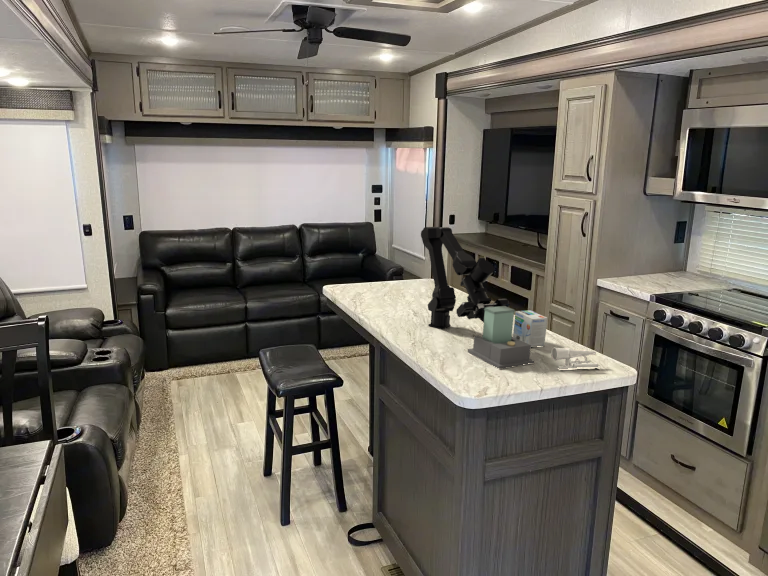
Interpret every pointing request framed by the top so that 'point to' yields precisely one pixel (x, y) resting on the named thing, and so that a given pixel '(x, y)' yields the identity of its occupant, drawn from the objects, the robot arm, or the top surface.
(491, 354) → the switch housing
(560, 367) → the toy cannon
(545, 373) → the top surface
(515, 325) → the light bulb box
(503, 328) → the pale green tall block
